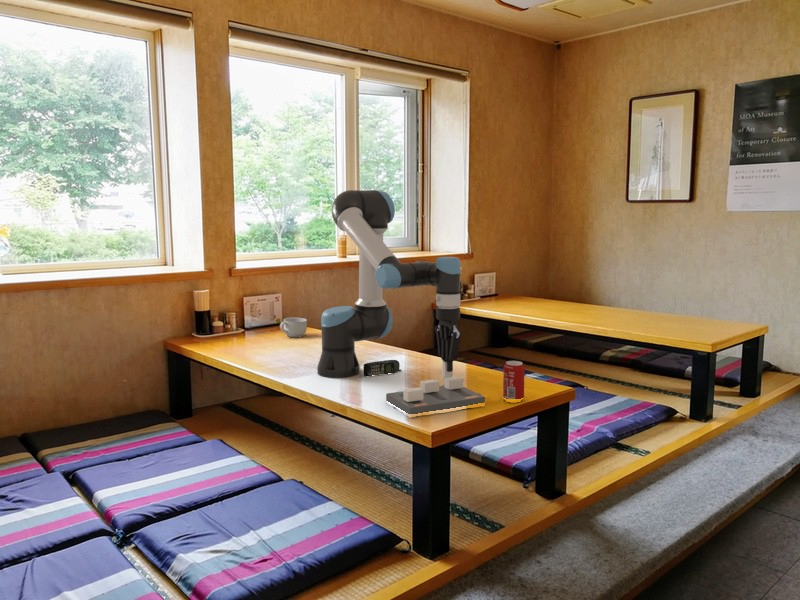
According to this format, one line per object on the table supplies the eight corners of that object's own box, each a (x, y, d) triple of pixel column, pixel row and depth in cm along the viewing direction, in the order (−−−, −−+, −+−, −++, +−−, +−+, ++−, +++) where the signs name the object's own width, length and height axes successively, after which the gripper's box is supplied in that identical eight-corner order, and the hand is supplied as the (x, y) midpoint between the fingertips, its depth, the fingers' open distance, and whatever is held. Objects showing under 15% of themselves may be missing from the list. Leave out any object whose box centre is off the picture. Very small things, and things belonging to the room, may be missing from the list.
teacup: (299, 333, 306) (299, 316, 305) (311, 336, 298) (311, 319, 297) (273, 336, 297) (272, 319, 296) (285, 340, 289) (284, 322, 288)
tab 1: (403, 399, 188) (403, 389, 188) (418, 397, 190) (418, 387, 190) (407, 401, 186) (407, 391, 185) (423, 399, 188) (423, 389, 187)
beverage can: (527, 400, 198) (528, 362, 197) (516, 405, 194) (517, 366, 192) (510, 396, 202) (511, 359, 201) (498, 401, 198) (499, 362, 196)
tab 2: (420, 390, 197) (420, 381, 197) (434, 388, 199) (434, 379, 199) (424, 393, 194) (424, 383, 194) (439, 391, 197) (439, 381, 196)
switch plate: (386, 403, 196) (386, 393, 195) (457, 392, 207) (457, 383, 206) (409, 418, 182) (409, 407, 181) (484, 406, 192) (485, 396, 192)
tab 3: (444, 387, 201) (444, 377, 200) (458, 385, 203) (458, 376, 202) (449, 389, 198) (449, 380, 198) (463, 387, 200) (463, 378, 200)
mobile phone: (365, 364, 225) (403, 359, 232) (361, 362, 228) (400, 357, 234) (365, 378, 226) (404, 372, 232) (362, 376, 228) (400, 370, 235)
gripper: (427, 305, 205) (427, 377, 208) (448, 310, 193) (447, 387, 196) (448, 303, 208) (447, 374, 211) (469, 308, 196) (468, 384, 200)
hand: (447, 380), depth 204 cm, fingers closed
